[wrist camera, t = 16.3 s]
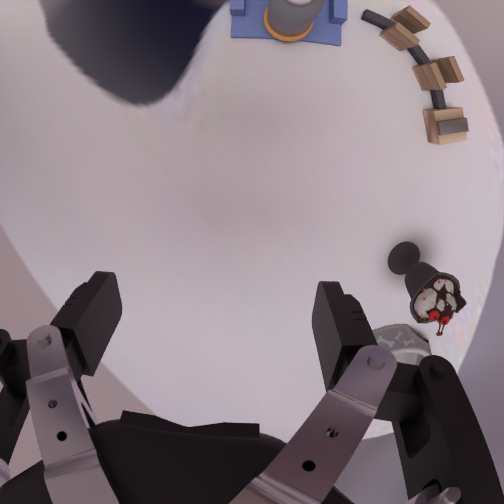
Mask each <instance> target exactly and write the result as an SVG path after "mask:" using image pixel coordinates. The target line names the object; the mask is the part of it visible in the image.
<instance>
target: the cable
mask: <svg viewBox="0 0 504 504" xmlns="http://www.w3.org/2000/svg"><path fill="white" fill-rule="evenodd" d="M362 19H363V20H366V21H368V22H370V23H373V24H375V25H377V26H379V27H381V28H383V29H386V28H388V27H390V26H392V25H394V24H395V23H396V22H394V21H392V20H390V19H388V18H385V17H383V16H381V15H379V14H377V13H375V12H372V11H370V10H368V9H366V10H365V11H364V12H363V16H362ZM408 50H409V51H410V52H411V54H412V55H413V56H414V58H415V59H416V60H417V62H418V63H419V64H420V65H423V64H429V63H432V62H431V61H430V60H429V58H428V57H427V55H426V54H425V53H424V51H423V50H422V49H421V47H420V46H419V45H418V44H417V46H414V47H411V48H408ZM431 93H432V97H433V102H434V107H435V109H445V108H446V104H445V99H444V94H443V90H431Z"/></svg>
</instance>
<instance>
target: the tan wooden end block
mask: <svg viewBox="0 0 504 504" xmlns="http://www.w3.org/2000/svg"><path fill="white" fill-rule="evenodd" d="M423 114H424V120H425V125H426V130H427V136H428V142H431V143H435V144H438V145H443V144H448V143H454V142H459V141H465V140H467V135H466V131H469V130H468V123H467V118H464V115H463V109H462V108H459V107H446V108H445V109H427V110H423Z"/></svg>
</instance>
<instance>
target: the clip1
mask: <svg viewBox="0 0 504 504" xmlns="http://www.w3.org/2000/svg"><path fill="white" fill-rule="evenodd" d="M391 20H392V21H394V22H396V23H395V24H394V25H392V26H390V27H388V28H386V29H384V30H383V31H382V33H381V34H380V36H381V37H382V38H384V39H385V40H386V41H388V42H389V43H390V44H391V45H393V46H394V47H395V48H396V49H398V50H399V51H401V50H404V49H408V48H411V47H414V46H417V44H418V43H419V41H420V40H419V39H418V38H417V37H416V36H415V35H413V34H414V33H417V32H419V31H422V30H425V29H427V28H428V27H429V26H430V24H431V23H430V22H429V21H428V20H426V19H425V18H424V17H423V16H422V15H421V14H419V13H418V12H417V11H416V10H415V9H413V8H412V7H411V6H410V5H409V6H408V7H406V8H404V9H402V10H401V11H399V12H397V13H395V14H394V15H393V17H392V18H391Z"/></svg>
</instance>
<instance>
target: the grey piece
mask: <svg viewBox="0 0 504 504" xmlns="http://www.w3.org/2000/svg"><path fill="white" fill-rule="evenodd" d="M324 3H325V0H269V2H268V7H267V8H266V10H265V13H264V25H265V28H266V30H267V31H268V32H269V33H270V34H271V35H272V36H273V37H275V38H276V39H279V40H282V41H287V42H292V41H297V40H300V39H302V38H304V37H305V36H306V35H307V34H308V33H309V32H310V30H311V29H312V26H313V21H314V19H315V18H316V16H317V15H318V13H319V12H320V10H321V9H322V8H323V6H324Z"/></svg>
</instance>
